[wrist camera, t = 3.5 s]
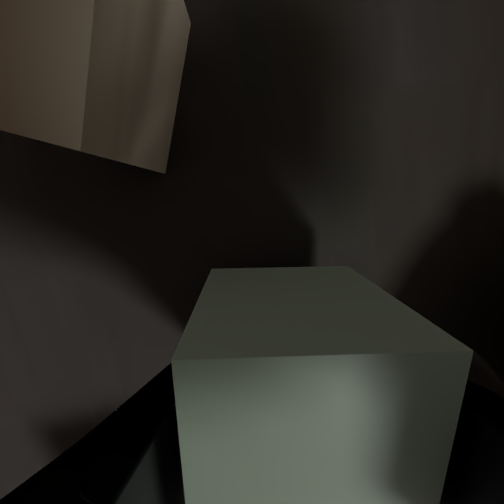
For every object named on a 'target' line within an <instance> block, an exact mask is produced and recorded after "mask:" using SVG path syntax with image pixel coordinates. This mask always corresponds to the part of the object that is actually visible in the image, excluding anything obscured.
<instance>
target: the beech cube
mask: <svg viewBox="0 0 504 504" xmlns="http://www.w3.org/2000/svg"><path fill="white" fill-rule="evenodd" d="M190 26H191V22H190V19H189V16H188V13H187V9H186V6H185V3H184V0H0V130H1V131H4V132H8V133H12V134H16V135H20V136H23V137H27V138H31V139H35V140H38V141H42V142H46V143H50V144H54V145H57V146H61V147H65V148H69V149H73V150H76V151H80V152H84V153H88V154H92V155H95V156H99V157H103V158H107V159H111V160H115V161H118V162H122V163H126V164H130V165H134V166H137V167H141V168H145V169H149V170H153V171H156V172H160V173H164V174H165V173H166V167H167V161H168V155H169V149H170V144H171V138H172V132H173V126H174V120H175V114H176V108H177V102H178V96H179V91H180V85H181V79H182V73H183V67H184V61H185V55H186V49H187V43H188V38H189V32H190Z"/></svg>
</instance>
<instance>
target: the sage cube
mask: <svg viewBox="0 0 504 504" xmlns="http://www.w3.org/2000/svg"><path fill="white" fill-rule="evenodd" d="M473 352H474V351H473V350H472V349H470V348H469V347H467V346H466V345H464V344H463V343H461V342H460V341H458V340H457V339H455V338H454V337H452V336H451V335H449V334H448V333H447V332H445V331H444V330H442V329H441V328H439V327H438V326H436V325H435V324H433V323H432V322H430V321H429V320H427V319H426V318H424V317H423V316H421V315H420V314H418V313H417V312H415V311H414V310H412V309H411V308H409V307H408V306H407V305H405V304H404V303H402V302H401V301H399V300H398V299H396V298H395V297H393V296H392V295H390V294H389V293H387V292H386V291H384V290H383V289H381V288H380V287H378V286H377V285H375V284H374V283H372V282H371V281H369V280H368V279H367V278H365V277H364V276H362V275H361V274H359V273H358V272H356V271H355V270H353V269H352V268H350V267H349V266H326V267H275V268H223V269H211V271H210V273H209V276H208V278H207V280H206V282H205V285H204V287H203V289H202V291H201V294H200V296H199V298H198V300H197V303H196V305H195V307H194V310H193V312H192V314H191V316H190V319H189V321H188V323H187V325H186V328H185V330H184V332H183V334H182V337H181V339H180V341H179V343H178V346H177V348H176V350H175V353H174V355H173V357H172V359H171V363H172V373H173V384H174V394H175V404H176V414H177V424H178V434H179V445H180V455H181V465H182V475H183V485H184V495H185V504H440V499H441V495H442V490H443V486H444V481H445V477H446V472H447V468H448V463H449V459H450V454H451V450H452V445H453V441H454V437H455V432H456V428H457V423H458V419H459V414H460V410H461V405H462V401H463V396H464V392H465V387H466V383H467V378H468V374H469V369H470V365H471V360H472V356H473Z"/></svg>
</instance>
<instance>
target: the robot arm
mask: <svg viewBox="0 0 504 504" xmlns="http://www.w3.org/2000/svg"><path fill="white" fill-rule="evenodd" d="M0 504H185V495H184V485H183V475H182V465H181V455H180V445H179V434H178V424H177V414H176V404H175V394H174V384H173V373H172V363H170V364H169V365H168V366H167V367H166V368H164V369H163V370H162V371H161V372H160V373H159V374H157V375H156V376H155V377H154V378H153V379H152V380H150V381H149V382H148V383H147V384H146V385H145V386H143V387H142V388H141V389H140V390H139V391H138V392H136V393H135V394H134V395H133V396H132V397H130V398H129V399H128V400H127V401H126V402H125V403H123V404H122V405H121V406H120V407H119V408H118V409H117V411H114V412H113V413H112V414H110V415H109V416H108V417H107V418H106V419H105V420H103V421H102V422H101V423H100V424H99V425H97V426H96V427H95V428H94V429H93V430H91V431H90V432H89V433H88V434H86V435H85V436H84V437H83V438H82V439H80V440H79V441H78V442H76V443H75V444H74V445H73V446H71V447H70V448H69V449H67V450H66V451H65V452H63V453H62V454H61V455H60V456H58V457H57V458H56V459H54V460H53V461H52V462H50V463H49V464H48V465H46V466H45V467H44V468H42V469H41V470H40V471H38V472H37V473H36V474H34V475H33V476H32V477H30V478H29V479H28V480H26V481H25V482H24V483H22V484H21V485H20V486H18V487H17V488H15V489H14V490H13V491H11V492H10V493H9V494H7V495H6V496H5V497H3V498H2V499H1V500H0ZM440 504H504V397H501V396H500V395H499V394H497V393H494V392H492V391H490V390H488V389H486V388H484V387H482V386H480V385H477V384H475V383H473V382H471V381H469V380H467V383H466V387H465V392H464V396H463V401H462V405H461V410H460V414H459V419H458V423H457V428H456V432H455V437H454V441H453V445H452V450H451V454H450V459H449V463H448V468H447V472H446V477H445V481H444V486H443V490H442V495H441V499H440Z"/></svg>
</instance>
